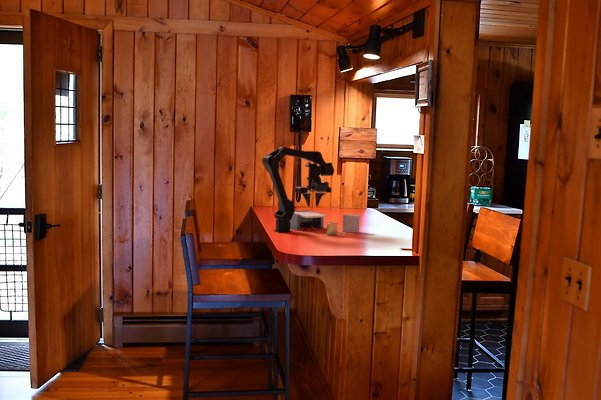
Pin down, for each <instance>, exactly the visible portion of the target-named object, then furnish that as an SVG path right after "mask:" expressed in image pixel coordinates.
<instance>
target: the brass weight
mask: <svg viewBox="0 0 601 400" xmlns="http://www.w3.org/2000/svg"><path fill="white" fill-rule="evenodd" d="M326 225H327V226H326V236H328V237H329V236H330V237H335V236H338V222H335V221H329V222H326Z"/></svg>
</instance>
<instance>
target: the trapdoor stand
mask: <svg viewBox="0 0 601 400" xmlns="http://www.w3.org/2000/svg"><path fill="white" fill-rule="evenodd" d="M295 212H315V213H319V214H323V215H325V214H324V213H321V212H317V211H313V210H306V209H305V210H295ZM324 218H325V217H316V218H313V220H312V221H308V222H300V215H299V214H295V213H294V214H293V216H292V219H291V220H290V230H294V231H300V227H303V226H304V227H305V226H308V227H311V228H315V229H317V230H318V229H319V230H323V229H324V220H325V219H324Z"/></svg>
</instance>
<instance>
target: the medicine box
mask: <svg viewBox="0 0 601 400" xmlns="http://www.w3.org/2000/svg"><path fill="white" fill-rule="evenodd" d="M341 229H342V230H341V231H342V233H353V234H358V233H359V232H360V214H349V213H348V214H346V213H345V214H343V215H342V228H341Z"/></svg>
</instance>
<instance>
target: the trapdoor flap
mask: <svg viewBox="0 0 601 400" xmlns="http://www.w3.org/2000/svg"><path fill="white" fill-rule="evenodd" d="M315 212H316V211H313V212H294V213H295V214H299V215H300V222H308V221H312V220H313V218H316V217H324V218H328V215H326V214H324V213H322V214H319V213H320V212H318V213H315ZM323 214H324V215H323Z"/></svg>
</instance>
